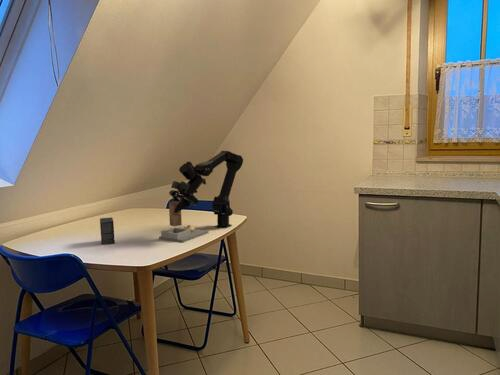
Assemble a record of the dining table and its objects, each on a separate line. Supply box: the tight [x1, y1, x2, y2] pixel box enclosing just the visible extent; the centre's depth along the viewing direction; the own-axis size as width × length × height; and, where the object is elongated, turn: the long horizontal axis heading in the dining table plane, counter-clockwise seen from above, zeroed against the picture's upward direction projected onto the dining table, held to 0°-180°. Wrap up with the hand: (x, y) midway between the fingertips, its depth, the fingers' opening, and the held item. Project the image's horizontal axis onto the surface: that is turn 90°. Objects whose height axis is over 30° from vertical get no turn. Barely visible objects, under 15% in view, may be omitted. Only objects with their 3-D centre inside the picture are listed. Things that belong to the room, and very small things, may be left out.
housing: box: [158, 224, 209, 243], centre depth 197 cm, size 20×14×4 cm
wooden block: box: [168, 200, 183, 227], centre depth 192 cm, size 4×4×11 cm
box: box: [99, 216, 116, 246], centre depth 187 cm, size 8×6×11 cm
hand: (172, 211), depth 191 cm, fingers closed on wooden block, 4 cm apart
